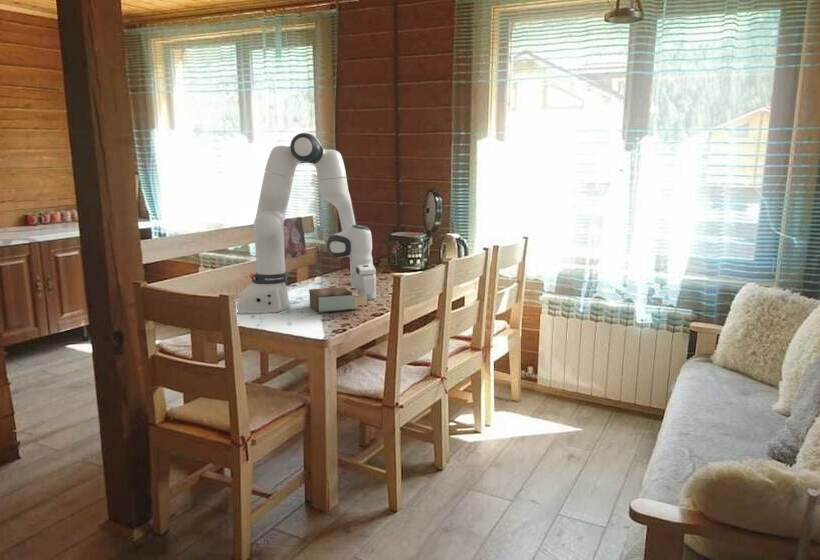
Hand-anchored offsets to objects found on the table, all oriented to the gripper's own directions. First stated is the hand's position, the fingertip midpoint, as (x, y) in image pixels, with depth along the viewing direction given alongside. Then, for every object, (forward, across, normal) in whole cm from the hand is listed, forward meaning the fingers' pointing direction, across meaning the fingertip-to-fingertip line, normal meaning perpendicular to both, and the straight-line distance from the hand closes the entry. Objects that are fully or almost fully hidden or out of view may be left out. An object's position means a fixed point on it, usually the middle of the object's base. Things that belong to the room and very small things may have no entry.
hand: (362, 301), depth 247 cm
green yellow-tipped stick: (+3, +2, -18) cm, 18 cm away
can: (+3, -16, +8) cm, 18 cm away
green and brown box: (+3, -5, -11) cm, 13 cm away
